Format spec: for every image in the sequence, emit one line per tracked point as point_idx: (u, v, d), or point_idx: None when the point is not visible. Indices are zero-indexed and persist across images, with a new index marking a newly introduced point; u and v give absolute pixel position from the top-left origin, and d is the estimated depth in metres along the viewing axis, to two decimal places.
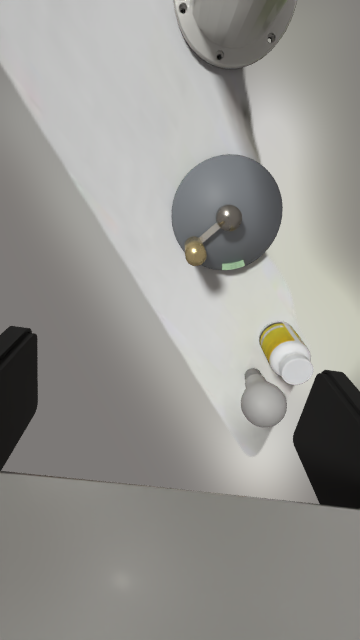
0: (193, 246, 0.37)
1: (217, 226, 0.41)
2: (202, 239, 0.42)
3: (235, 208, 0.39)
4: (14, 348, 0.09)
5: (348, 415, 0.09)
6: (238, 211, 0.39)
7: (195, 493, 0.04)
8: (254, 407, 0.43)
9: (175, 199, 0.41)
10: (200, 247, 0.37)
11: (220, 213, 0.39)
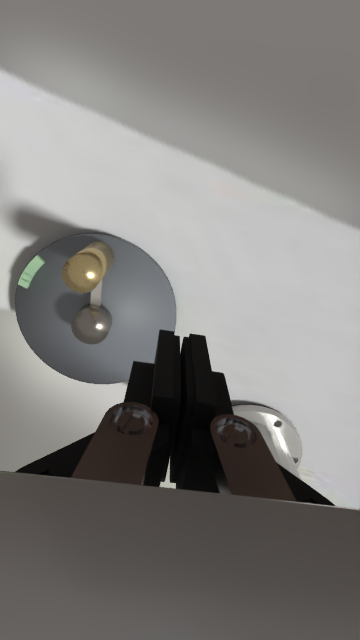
0: (95, 284, 0.21)
1: (94, 302, 0.27)
2: None
3: (94, 342, 0.27)
4: (175, 348, 0.10)
5: (185, 368, 0.10)
6: (88, 342, 0.27)
7: (195, 493, 0.04)
8: None
9: (167, 287, 0.28)
10: (85, 290, 0.22)
11: (105, 324, 0.27)
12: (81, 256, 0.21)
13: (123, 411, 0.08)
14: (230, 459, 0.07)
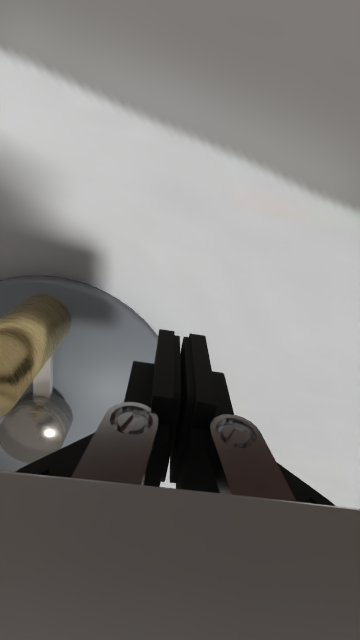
0: (10, 404, 0.10)
1: (40, 392, 0.16)
2: None
3: None
4: (175, 349, 0.10)
5: (185, 368, 0.10)
6: (29, 460, 0.16)
7: (195, 493, 0.04)
8: None
9: None
10: None
11: (55, 434, 0.16)
12: None
13: (123, 411, 0.08)
14: (230, 459, 0.07)
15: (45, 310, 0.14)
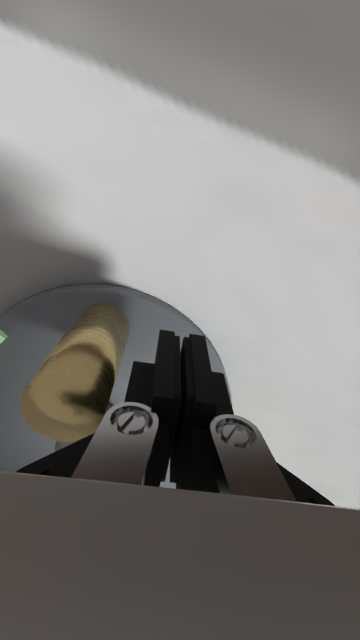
0: (96, 425, 0.10)
1: None
2: None
3: None
4: (175, 349, 0.10)
5: (185, 368, 0.10)
6: None
7: (195, 493, 0.04)
8: None
9: None
10: (75, 437, 0.10)
11: None
12: (63, 372, 0.09)
13: (123, 411, 0.08)
14: (230, 459, 0.07)
15: (110, 321, 0.13)
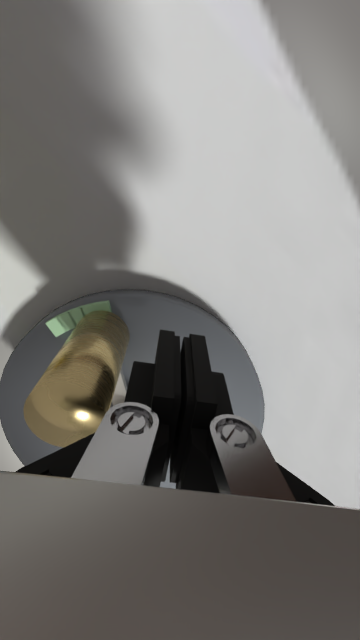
0: None
1: None
2: None
3: None
4: (175, 349, 0.10)
5: (185, 368, 0.10)
6: None
7: (195, 493, 0.04)
8: None
9: None
10: None
11: None
12: (51, 381, 0.09)
13: (123, 411, 0.08)
14: (229, 459, 0.07)
15: (101, 325, 0.13)
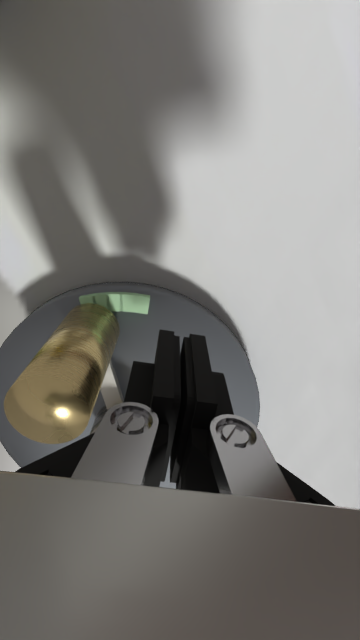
0: (85, 417, 0.10)
1: (113, 404, 0.16)
2: None
3: None
4: (175, 348, 0.10)
5: (185, 368, 0.10)
6: None
7: (195, 493, 0.04)
8: None
9: None
10: (70, 435, 0.10)
11: None
12: (32, 374, 0.09)
13: (123, 411, 0.08)
14: (230, 459, 0.07)
15: (88, 317, 0.13)
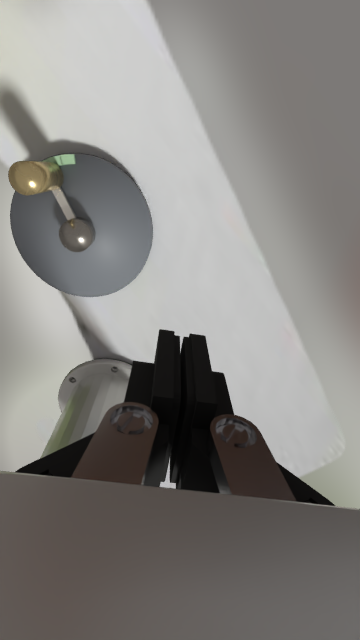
0: (38, 179, 0.25)
1: (70, 217, 0.31)
2: (56, 191, 0.30)
3: (85, 246, 0.31)
4: (175, 348, 0.10)
5: (185, 368, 0.10)
6: (81, 249, 0.31)
7: (195, 493, 0.04)
8: None
9: (147, 250, 0.34)
10: (35, 189, 0.26)
11: (83, 226, 0.30)
12: None
13: (123, 411, 0.08)
14: (230, 459, 0.07)
15: None
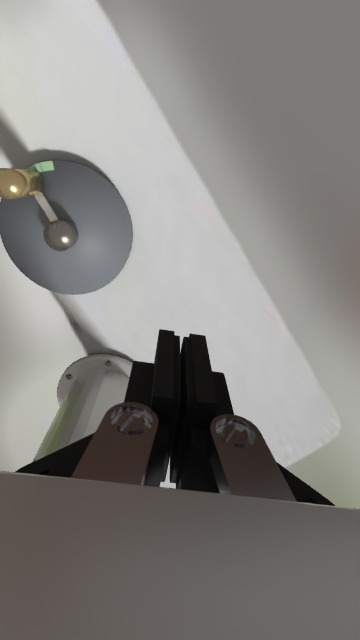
0: (18, 183, 0.28)
1: (53, 219, 0.34)
2: (38, 196, 0.33)
3: (69, 245, 0.33)
4: (175, 348, 0.10)
5: (185, 368, 0.10)
6: (65, 247, 0.34)
7: (195, 493, 0.04)
8: None
9: (128, 245, 0.36)
10: (16, 192, 0.28)
11: (65, 226, 0.33)
12: None
13: (123, 411, 0.08)
14: (230, 459, 0.07)
15: (23, 169, 0.31)
